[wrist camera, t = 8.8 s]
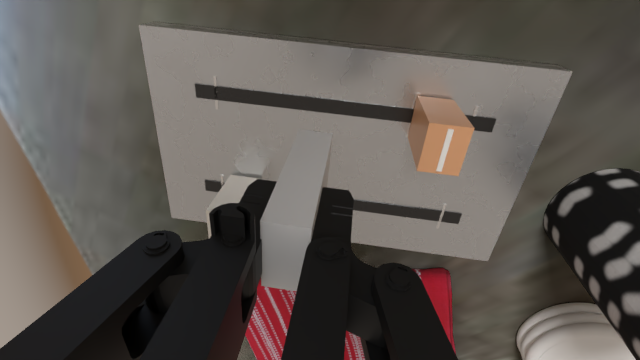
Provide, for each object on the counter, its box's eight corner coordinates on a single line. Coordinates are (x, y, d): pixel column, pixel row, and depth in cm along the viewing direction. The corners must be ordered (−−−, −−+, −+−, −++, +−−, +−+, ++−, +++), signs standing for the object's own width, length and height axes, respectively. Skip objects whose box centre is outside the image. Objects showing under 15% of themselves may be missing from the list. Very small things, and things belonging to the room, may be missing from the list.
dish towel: (452, 365, 41) (458, 388, 39) (266, 367, 46) (261, 387, 44) (452, 259, 33) (458, 279, 31) (225, 273, 38) (216, 292, 35)
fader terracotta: (417, 95, 23) (429, 123, 19) (453, 99, 23) (475, 128, 18) (407, 137, 24) (417, 171, 20) (441, 141, 24) (458, 177, 20)
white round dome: (522, 299, 34) (537, 329, 31) (635, 299, 33) (663, 331, 30) (508, 360, 39) (520, 392, 36) (606, 363, 38) (627, 396, 35)
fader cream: (230, 174, 28) (205, 211, 23) (259, 178, 28) (240, 216, 23) (232, 205, 29) (208, 245, 25) (260, 209, 29) (241, 249, 25)
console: (154, 21, 25) (137, 24, 23) (557, 64, 23) (573, 71, 21) (181, 205, 33) (171, 218, 31) (480, 245, 31) (488, 262, 30)
